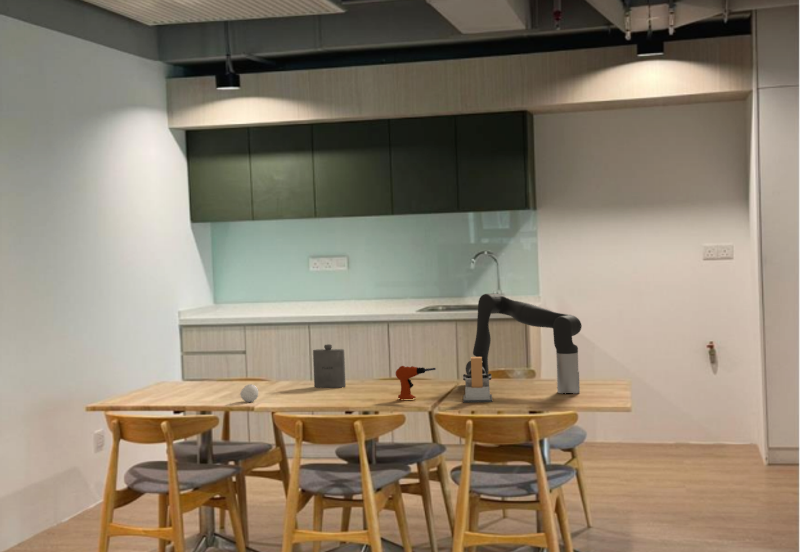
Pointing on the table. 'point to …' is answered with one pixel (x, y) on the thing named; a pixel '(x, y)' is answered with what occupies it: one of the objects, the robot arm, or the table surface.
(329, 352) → the flask
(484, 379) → the block
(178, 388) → the table surface
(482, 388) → the vise
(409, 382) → the toy drill
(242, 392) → the gray round stone
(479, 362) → the orange block
